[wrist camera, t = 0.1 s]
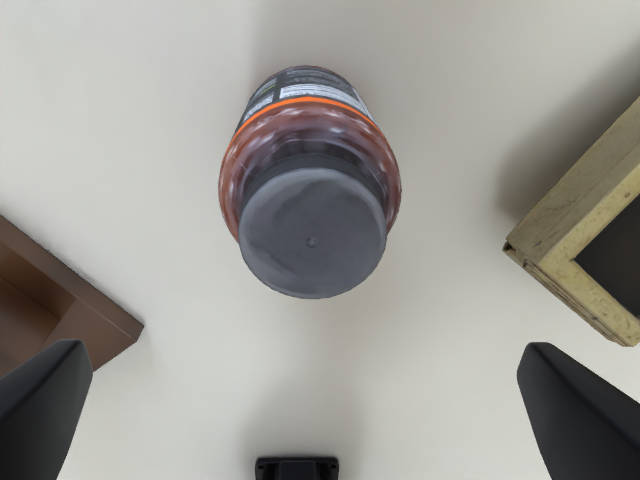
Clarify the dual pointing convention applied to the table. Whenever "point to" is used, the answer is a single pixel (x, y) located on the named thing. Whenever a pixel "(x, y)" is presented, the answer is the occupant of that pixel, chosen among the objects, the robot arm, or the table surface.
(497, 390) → the table surface
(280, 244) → the supplement bottle
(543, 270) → the box
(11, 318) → the switch bracket
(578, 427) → the robot arm
